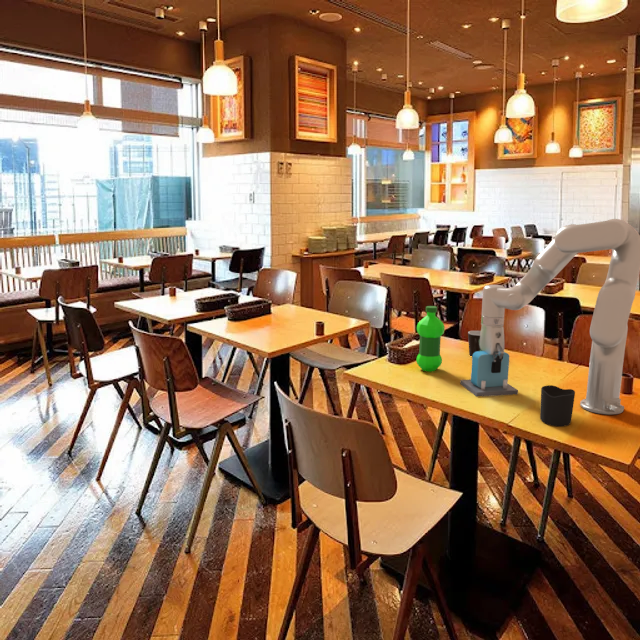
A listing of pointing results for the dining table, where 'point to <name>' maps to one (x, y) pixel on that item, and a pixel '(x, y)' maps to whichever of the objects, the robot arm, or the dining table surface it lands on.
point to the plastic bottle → (429, 340)
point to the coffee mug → (473, 341)
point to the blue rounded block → (488, 369)
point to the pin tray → (489, 389)
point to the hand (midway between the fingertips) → (489, 368)
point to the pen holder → (556, 405)
